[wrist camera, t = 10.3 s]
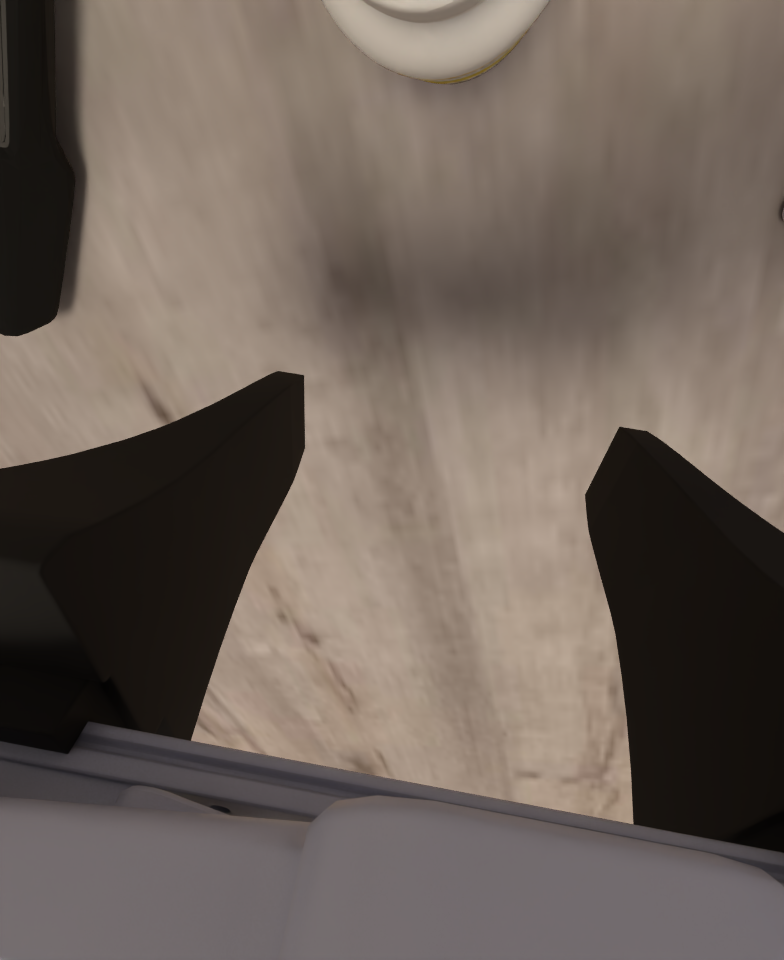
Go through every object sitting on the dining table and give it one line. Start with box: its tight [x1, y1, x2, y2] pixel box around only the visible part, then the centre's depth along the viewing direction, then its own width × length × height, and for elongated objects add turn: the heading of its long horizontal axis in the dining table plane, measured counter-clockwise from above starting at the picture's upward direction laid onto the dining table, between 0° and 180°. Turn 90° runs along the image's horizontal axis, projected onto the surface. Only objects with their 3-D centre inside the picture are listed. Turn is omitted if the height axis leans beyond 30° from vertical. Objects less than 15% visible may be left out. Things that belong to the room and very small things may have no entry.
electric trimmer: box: [0, 0, 75, 336], centre depth 16 cm, size 4×16×3 cm, turn 155°
